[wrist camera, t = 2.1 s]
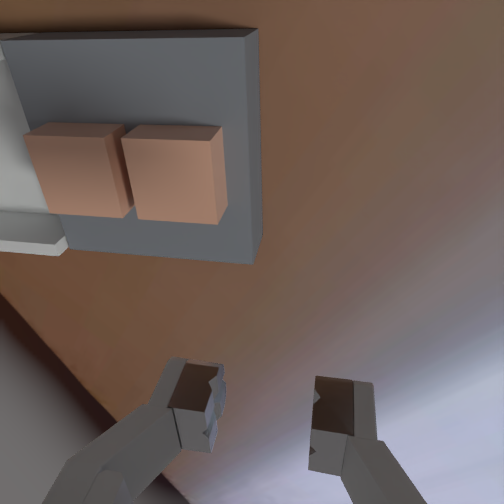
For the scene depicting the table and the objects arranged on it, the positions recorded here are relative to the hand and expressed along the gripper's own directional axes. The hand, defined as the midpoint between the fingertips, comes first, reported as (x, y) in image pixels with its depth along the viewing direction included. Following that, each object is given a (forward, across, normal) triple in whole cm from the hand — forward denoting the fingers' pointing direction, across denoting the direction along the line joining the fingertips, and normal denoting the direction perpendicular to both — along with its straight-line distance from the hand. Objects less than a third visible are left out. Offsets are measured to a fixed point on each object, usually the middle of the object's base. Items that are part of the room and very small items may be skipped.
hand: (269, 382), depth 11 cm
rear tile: (+15, +14, 0) cm, 20 cm away
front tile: (+15, +8, 0) cm, 17 cm away
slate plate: (+19, +10, 0) cm, 22 cm away
